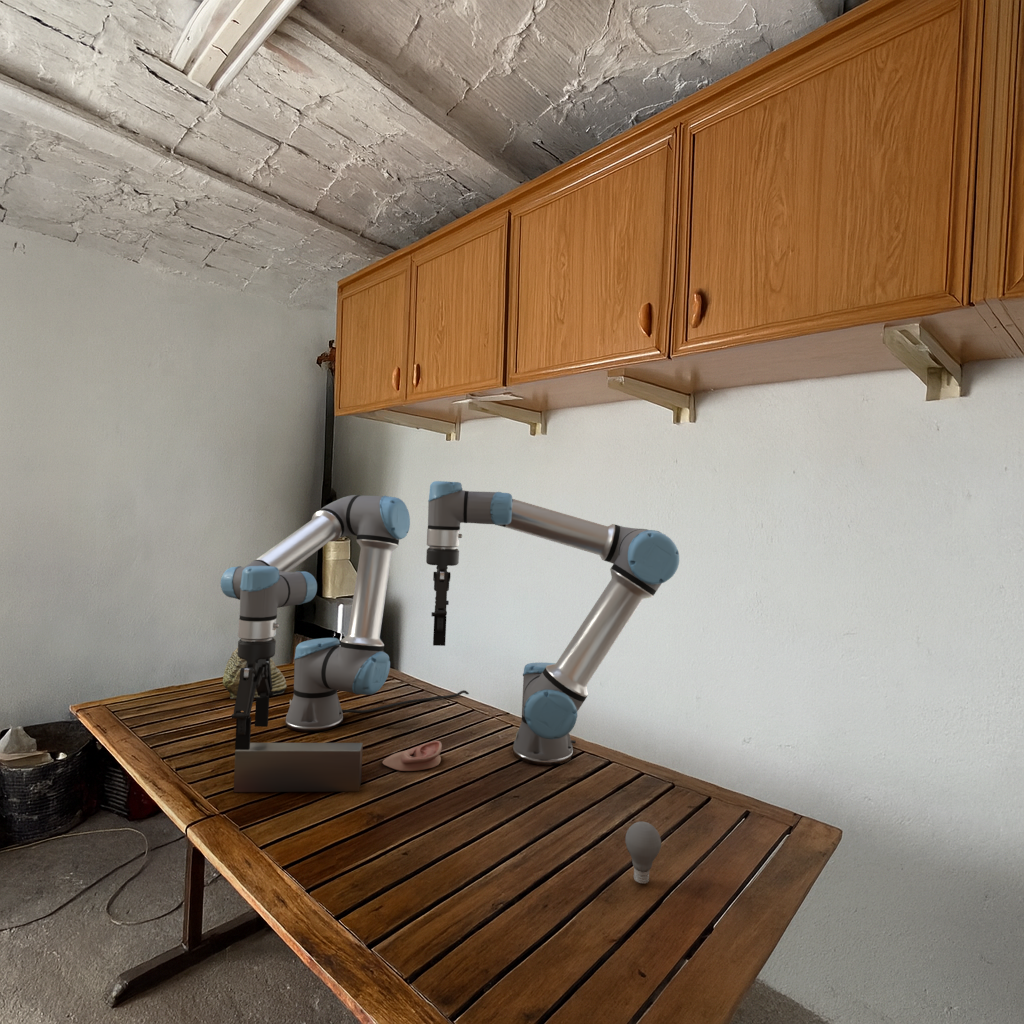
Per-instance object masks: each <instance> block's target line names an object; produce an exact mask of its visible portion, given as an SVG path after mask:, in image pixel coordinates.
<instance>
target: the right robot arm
mask: <svg viewBox="0 0 1024 1024" xmlns="http://www.w3.org/2000/svg"><path fill="white" fill-rule="evenodd" d="M427 502H428V506H427V508H428V509H427V514H428V515H427V528H426V546H427V547H428V548H427V549H426V554H425V555H426V556H425V557H426V558H425V559H426V560H425V562H426V564H427V565H429V566H436V567H435V568H436V571H433V578H432V580H433V590H434V592H435V597H434V604H435V605H434V611H433V612H431V617H433V634H432V635H433V638H432V646H433V647H434V646H441V647H445V646H446V640H447V639H446V637H447V636H446V635H447V615H448V611H447V606H449V603H450V601H449V600H447V599H448V592H449V591H450V582H451V571H448V567H454V566H458V565H459V563H460V562H459V561H460V550H459V549H458V547H460V539H462V538H463V534H462V533H460V530H461V524H463V523H464V524H478V525H494V526H499V527H501V528H507V529H510V530H513V531H517V532H520V533H524V534H527V535H530V536H532V537H533V536H534V537H535V538H536V537H537V538H541V539H543V540H546V541H549V542H553V543H557V544H559V545H564V546H567V547H570V548H574V549H577V550H581V551H584V552H587V553H591V554H593V555H594V554H595V555H597V556H599V557H600V560H602V561H604V562H607V563H610V564H612V565H611V567H610V569H609V571H610V575H611V579H610V581H609V582H608V584H607V585H606V587H605V588H604V590H603V591H602V592H601V594H600V596H599V597H598V598H597V601H596V602H595V604H594V605H593V606H592V608H591V609H590V611H589V612H588V614H587V616H585V618H584V620H583V621H582V623H581V625H580V626H579V628H578V629H577V631H576V632H575V634H574V635H573V637H572V638H571V640H570V642H569V643H568V645H567V646H566V648H564V650H563V652H562V654H561V655H560V657H559V658H558V660H556V662H529V663H526V664H525V665H524V667H523V673H522V677H523V678H522V679H523V680H522V701H521V702H522V703H521V721H520V725H519V727H518V730H516V733H515V739H514V741H513V746H512V754H513V756H515V757H516V758H517V759H518V760H520V761H522V762H524V763H528V764H532V765H535V766H558V765H563V764H565V763H568V762H569V761H571V760H572V758H573V756H574V747H573V746H574V745H575V744H576V743H577V741H576V740H574V739H571V735H570V733H571V732H572V730H573V729H574V727H575V726H576V722H577V719H578V712H579V710H580V708H581V707H582V706H583V704H584V703H585V701H586V700H587V698H588V696H589V692H588V684H589V682H590V681H591V679H592V678H593V677H594V675H595V673H596V672H597V671H598V669H599V667H600V665H602V663H603V661H604V660H605V658H606V656H607V655H608V654H609V652H610V651H611V649H612V647H613V646H614V644H615V643H616V641H617V640H618V638H619V637H620V635H621V634H622V632H623V631H624V629H626V626H627V625H628V623H629V622H630V621H631V618H632V617H633V616H634V614H635V613H636V611H637V609H638V608H639V606H640V605H641V603H642V602H643V601H644V600H645V599H650V598H653V597H654V596H655V594H656V593H657V592H658V590H659V588H660V587H661V585H662V584H664V583H666V582H668V581H669V580H670V579H672V578H673V577H674V575H675V574H676V573H677V570H678V568H679V565H680V553H679V549H678V547H677V545H676V543H675V542H674V540H673V539H672V538H671V537H669V536H668V535H666V534H665V533H662V532H661V531H659V530H653V529H646V528H637V527H628V526H623V525H619V524H615V523H611V524H609V525H604V524H602V523H597V522H595V521H590V520H587V519H584V518H580V517H577V516H574V515H571V514H567V513H563V512H560V511H556V510H553V509H549V508H546V507H542V506H539V505H535V504H532V503H529V502H526V501H522V500H518V499H516V498H515V499H514V498H513V495H512V493H509V492H502V491H470V490H465V489H464V490H463V485H462V483H461V482H459V481H445V480H443V481H442V480H434V481H432V482H431V483H430V485H429V493H428V501H427ZM573 744H574V745H573Z"/></svg>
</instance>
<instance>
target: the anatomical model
mask: <svg viewBox="0 0 1024 1024" xmlns="http://www.w3.org/2000/svg"><path fill="white" fill-rule="evenodd" d="M442 751H443V744H442V742H441V741H439V740H434V741H429V742H426V743H423V744H420V745H417V746H414V747H412V748H410V749H407V750H402V751H399V752H394V753H393V754H390V755H388V756H387V757H386V758H384V760H382V764H383V765H384V766H385V767H388V768H390V769H393V770H396V771H400V772H413V771H422V770H428V769H432V768H435V767H437V766H439V764H441V761H442V757H441V755H440V754H441V752H442Z"/></svg>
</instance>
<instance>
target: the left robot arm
mask: <svg viewBox="0 0 1024 1024" xmlns="http://www.w3.org/2000/svg"><path fill="white" fill-rule="evenodd" d="M410 527H411V517H410V512H409V509H408V507H407V505H406V503H405V502H404V501H403V500H402V499H401V498H400V497H395V496H389V495H360V494H351V495H347V496H343V497H341V498H338V499H336V500H334V501H332V502H330V503H328V504H326V505H324V506H323V507H321V508H320V509H318V510H317V511H316V512H314V513H313V514H312V517H311V520H310V521H308V522H307V523H305V524H304V525H302V526H300V527H299V528H298V529H297V530H295V531H294V532H292V533H291V534H289V535H288V536H287V537H285V538H284V539H282V540H281V541H280V542H278V543H277V544H275V545H274V546H272V547H271V548H269V549H268V550H267V551H265V552H264V553H263V554H261V555H259V556H258V557H257V558H255V559H254V560H252V561H251V562H250V563H248V564H247V565H245V566H241V565H238V566H231V567H228V568H227V569H226V570H225V571H224V572H223V573H222V576H221V579H220V589H221V592H222V593H223V594H224V596H226V597H228V598H231V599H236V600H238V601H239V618H238V630H237V631H238V633H237V637H238V638H239V640H238V641H237V648H238V654H237V655H238V657H239V658H241V659H245V660H246V661H247V663H246V667H244V668H241V670H240V680H239V685H238V691H237V696H236V698H235V702H234V707H233V713H232V714H231V718H232V719H236V721H235V723H236V724H235V740H234V751H236V750H249V749H250V743H251V733H252V716H251V712H252V707H253V704H254V700H255V709H254V713H255V714H254V727H255V728H257V727H258V728H259V727H260V728H262V727H263V728H267V727H268V726H269V712H270V711H269V710H270V697H274V695H273V693H274V691H272V689H273V687H272V678H271V668H270V658H271V659H272V658H273V657H274V656H275V655H276V642H277V641H276V639H275V637H276V635H277V629H278V628H279V627H280V624H279V623H278V622H277V619H278V609H279V608H284V607H289V606H296V605H297V606H300V605H303V604H306V603H309V602H311V601H312V600H313V599H314V598H315V596H316V595H317V592H318V582H317V580H316V578H315V576H314V575H313V574H312V573H310V572H308V571H299V570H296V571H293V570H294V569H296V568H297V567H298V566H300V565H301V564H302V563H304V562H305V561H306V560H307V559H308V558H310V557H311V556H313V554H315V553H316V552H318V551H319V550H320V549H322V548H323V547H325V545H327V544H328V543H329V542H330V543H333V542H336V541H337V540H339V539H340V538H342V537H348V536H355V537H356V539H355V540H356V543H357V544H358V545H359V548H360V552H359V557H358V565H357V569H356V570H357V571H356V577H355V584H354V591H353V597H352V603H351V604H352V605H351V611H350V617H349V618H350V619H349V624H348V632H347V634H346V636H344V637H343V638H342V639H341V640H339V638H337V637H321V638H313V639H307V640H304V641H302V642H299V643H298V644H297V645H296V647H295V652H294V653H295V654H294V657H293V660H294V661H293V662H294V663H293V664H294V668H293V695H292V696H293V697H292V699H289V708H288V711H287V713H286V715H285V726H286V728H287V729H289V730H291V731H294V732H295V731H296V732H301V733H316V732H325V731H329V730H332V729H335V728H337V727H339V726H340V725H342V723H343V722H344V714H343V713H347V714H349V713H351V714H353V713H354V714H365V713H372V712H377V711H381V710H384V709H389V708H392V707H397V706H402V705H406V704H407V705H408V704H413V703H420V702H427V701H435V700H441V699H442V700H443V699H451V698H455V697H458V696H460V695H463V694H465V695H470V693H469V692H468V691H467V690H460V691H459V692H457V693H455V694H454V693H453V694H448V695H440V696H439V695H438V696H431V697H423V698H416V699H408V700H404V701H399V702H394V703H390V704H385V705H382V706H377V707H373V708H369V709H342V706H341V702H340V699H339V695H338V691H340V692H347V693H352V694H354V695H357V696H358V695H363V696H364V695H365V696H371V695H374V694H376V693H377V692H379V691H380V690H381V689H382V687H383V686H384V684H385V683H386V681H387V679H388V677H389V674H390V670H391V661H390V656H389V654H388V653H386V652H385V651H384V649H385V644H384V642H383V640H382V639H381V630H382V623H383V617H384V611H385V610H384V609H385V602H386V596H387V589H388V583H389V574H390V567H391V562H392V554H393V551H394V550H397V548H398V547H399V543H400V540H403V539H405V538H406V537H407V535H408V533H409V532H410ZM256 690H257V694H258V696H260V697H254V696H255V692H256Z"/></svg>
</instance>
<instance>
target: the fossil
mask: <svg viewBox="0 0 1024 1024" xmlns="http://www.w3.org/2000/svg"><path fill="white" fill-rule="evenodd" d="M237 654H238V647H237V648H236V649H235V650H233V651H232V653H231V656H230V657H229V659H228V660H227V663H226V666H225V668H224V671H223V675H222V676H223V677H222V685H223V687H224V688H225V690H226V691H228V693H229V698H230V699H236V696H237V691H238V685H239V680H240V670H241V668H244V667H246V663H247V661H246V660H245V659H241V658H239V657H238V655H237ZM270 668H271V678H272V687H273V689H272V691H274V693H273V696H275V695H281V694H284V693H285V691H286V689H287V687H288V686H287V680H286V678H285V676H284V674H283V673H282V672H281V669H279V668H278V667H277V665H276V663H275V662H274V660H273V659H272V657H271V658H270ZM256 697H260V696H258V694H257V690H256V692H255V696H254V698H256Z"/></svg>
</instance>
